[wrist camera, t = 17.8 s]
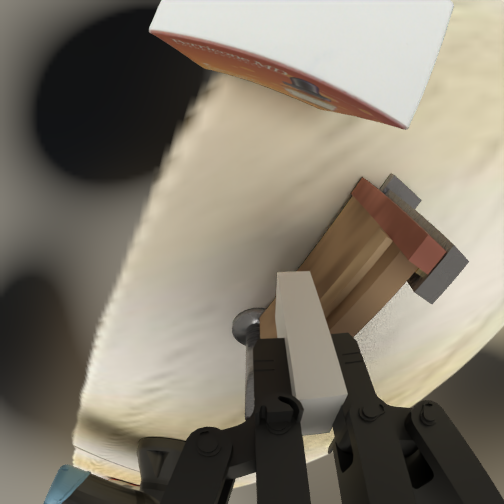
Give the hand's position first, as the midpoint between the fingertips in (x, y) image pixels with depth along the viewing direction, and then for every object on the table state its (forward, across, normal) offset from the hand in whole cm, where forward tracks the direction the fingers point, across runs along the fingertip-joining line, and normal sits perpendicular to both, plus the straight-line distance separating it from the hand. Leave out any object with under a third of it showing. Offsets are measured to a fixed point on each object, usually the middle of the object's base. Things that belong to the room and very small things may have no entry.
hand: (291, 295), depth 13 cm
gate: (+7, +3, -2) cm, 8 cm away
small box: (+7, 0, +12) cm, 14 cm away
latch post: (+7, +8, +2) cm, 11 cm away
